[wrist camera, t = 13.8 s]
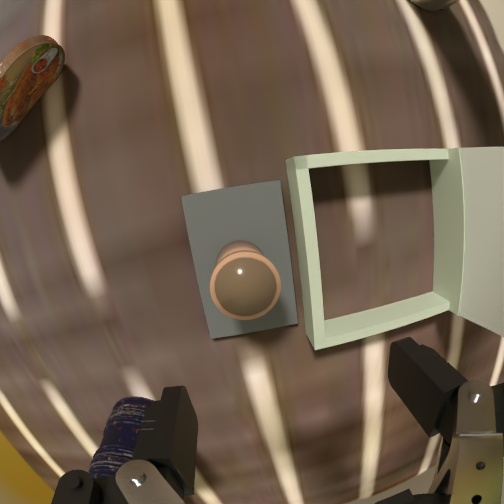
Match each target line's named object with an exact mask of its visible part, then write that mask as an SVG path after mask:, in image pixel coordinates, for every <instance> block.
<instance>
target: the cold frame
mask: <svg viewBox="0 0 504 504" xmlns="http://www.w3.org/2000/svg"><path fill="white" fill-rule="evenodd" d="M415 160H429V164H430V174H431V184H432V198H433V217H434V271H433V290H432V292H429V293H426V294H423V295H419V296H416V297H413V298H409V299H406V300H402V301H399V302H395V303H392V304H388V305H385V306H381V307H377V308H373V309H370V310H366V311H362V312H358V313H354V314H350V315H346V316H342V317H337V318H333V319H329V320H324V314H323V299H322V286H321V274H320V262H319V252H318V242H317V233H316V224H315V215H314V207H313V199H312V191H311V184H310V176H309V169H310V168H319V167H329V166H340V165H351V164H363V163H377V162H394V161H415ZM285 163H286V169H287V176H288V183H289V190H290V197H291V204H292V212H293V219H294V227H295V235H296V243H297V252H298V260H299V269H300V278H301V288H302V298H303V308H304V318H305V330H306V335H307V336H308V338H309V340H310V342H311V344H312V346H313V348H314V350H318V349H322V348H327V347H331V346H335V345H339V344H343V343H346V342H350V341H354V340H358V339H361V338H365V337H368V336H372V335H375V334H379V333H382V332H385V331H389V330H392V329H395V328H398V327H401V326H404V325H408V324H411V323H414V322H417V321H420V320H422V319H425V318H428V317H431V316H434V315H437V314H439V313H442V312H445V311H447V310H449V311H451V312H453V313H454V314H456V315H457V316H461V317H463V318H465V319H467V320H470V321H472V322H474V323H476V324H478V325H480V326H482V327H484V328H486V329H488V330H491V331H493V332H495V333H497V334H499V335H501V336H503V337H504V147H473V148H453V149H391V150H369V151H352V152H338V153H326V154H315V155H305V156H296V157H292V158H289V159H286V160H285Z"/></svg>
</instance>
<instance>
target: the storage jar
mask: <svg viewBox="0 0 504 504" xmlns="http://www.w3.org/2000/svg"><path fill="white" fill-rule="evenodd" d="M152 402H153V400H150V399H147V398H143V397H126V398H123V399H121V400H119V401H118V402H117V403H116V404H115V406H114V408H113V411H112V413H111V415H110V416H109V418H108V420H107V423H106V427H105V430H104V434H103V435H104V437H103V440H102V442H101V445H100V448H99V449H98V450H97V451H96V453H95V454H94V456H93V460H92V462H91V464H90V467H89V472H88V474H90V476H91V477H92V478H100V477H106V476H111V475H115V474H116V473H117V471H118V469H119V468H120V467H121V466H122V465H123V464H125V463H127V462H129V461H131V460H132V457H133V453H134V450H135V446H136V442H137V439H138V435H139V432H140V430H141V425H142V422H143V418H144V414H145V411H146V409H147V408H148V407H149V406H150V405H151V403H152Z"/></svg>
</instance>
